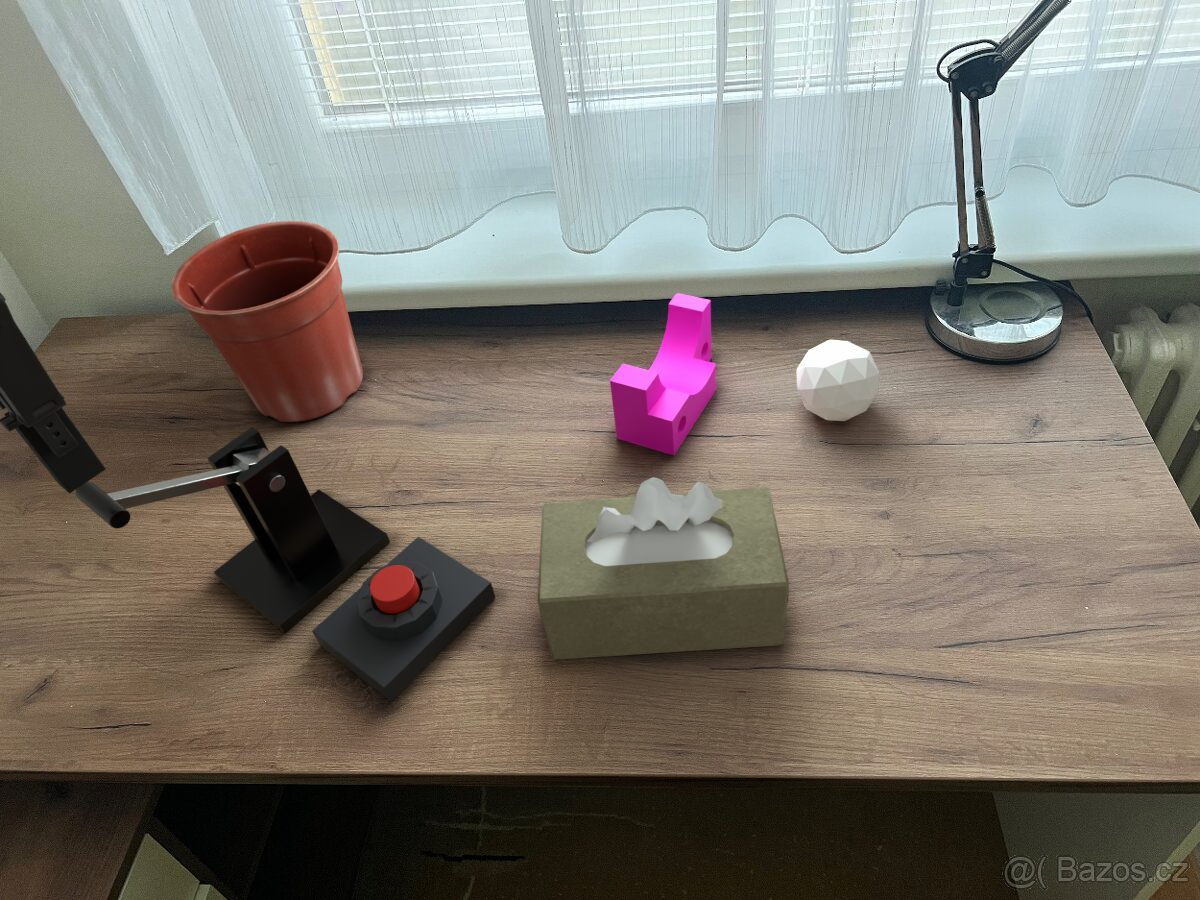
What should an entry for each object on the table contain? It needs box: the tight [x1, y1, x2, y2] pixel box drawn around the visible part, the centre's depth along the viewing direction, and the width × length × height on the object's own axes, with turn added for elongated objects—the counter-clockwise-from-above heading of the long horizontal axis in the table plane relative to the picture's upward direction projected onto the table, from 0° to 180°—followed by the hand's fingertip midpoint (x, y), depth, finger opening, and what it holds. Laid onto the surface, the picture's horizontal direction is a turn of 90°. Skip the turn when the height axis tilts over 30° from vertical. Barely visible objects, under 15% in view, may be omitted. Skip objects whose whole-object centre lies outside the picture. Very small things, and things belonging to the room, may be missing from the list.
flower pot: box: [170, 220, 364, 423], centre depth 92 cm, size 16×16×16 cm
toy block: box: [609, 292, 717, 456], centre depth 87 cm, size 15×6×8 cm, turn 151°
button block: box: [311, 536, 496, 702], centre depth 72 cm, size 12×9×4 cm
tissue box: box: [537, 476, 790, 660], centre depth 67 cm, size 19×10×16 cm, turn 90°
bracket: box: [207, 426, 391, 634], centre depth 75 cm, size 12×10×14 cm
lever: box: [74, 448, 272, 529], centre depth 67 cm, size 14×5×2 cm, turn 143°
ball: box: [795, 339, 880, 422], centre depth 84 cm, size 8×8×8 cm
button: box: [370, 565, 419, 614], centre depth 70 cm, size 4×4×2 cm
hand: (82, 476), depth 60 cm, fingers closed
